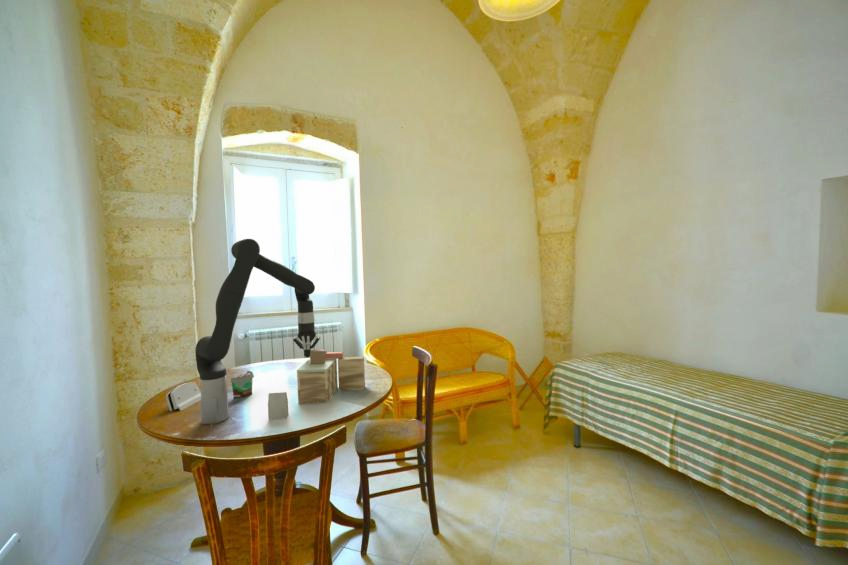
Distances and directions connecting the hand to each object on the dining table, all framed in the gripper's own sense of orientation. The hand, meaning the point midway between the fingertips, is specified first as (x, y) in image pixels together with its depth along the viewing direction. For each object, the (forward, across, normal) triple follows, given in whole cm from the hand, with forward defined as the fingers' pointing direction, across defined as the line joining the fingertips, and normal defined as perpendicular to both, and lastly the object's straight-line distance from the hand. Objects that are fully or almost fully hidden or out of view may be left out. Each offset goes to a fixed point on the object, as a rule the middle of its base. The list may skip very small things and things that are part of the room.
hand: (307, 357), depth 182 cm
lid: (+2, +7, -8) cm, 10 cm away
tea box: (+16, -3, -32) cm, 36 cm away
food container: (+16, -28, -4) cm, 33 cm away
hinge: (+17, -51, -13) cm, 56 cm away
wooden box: (+16, +14, -8) cm, 23 cm away
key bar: (+1, +11, 0) cm, 11 cm away
